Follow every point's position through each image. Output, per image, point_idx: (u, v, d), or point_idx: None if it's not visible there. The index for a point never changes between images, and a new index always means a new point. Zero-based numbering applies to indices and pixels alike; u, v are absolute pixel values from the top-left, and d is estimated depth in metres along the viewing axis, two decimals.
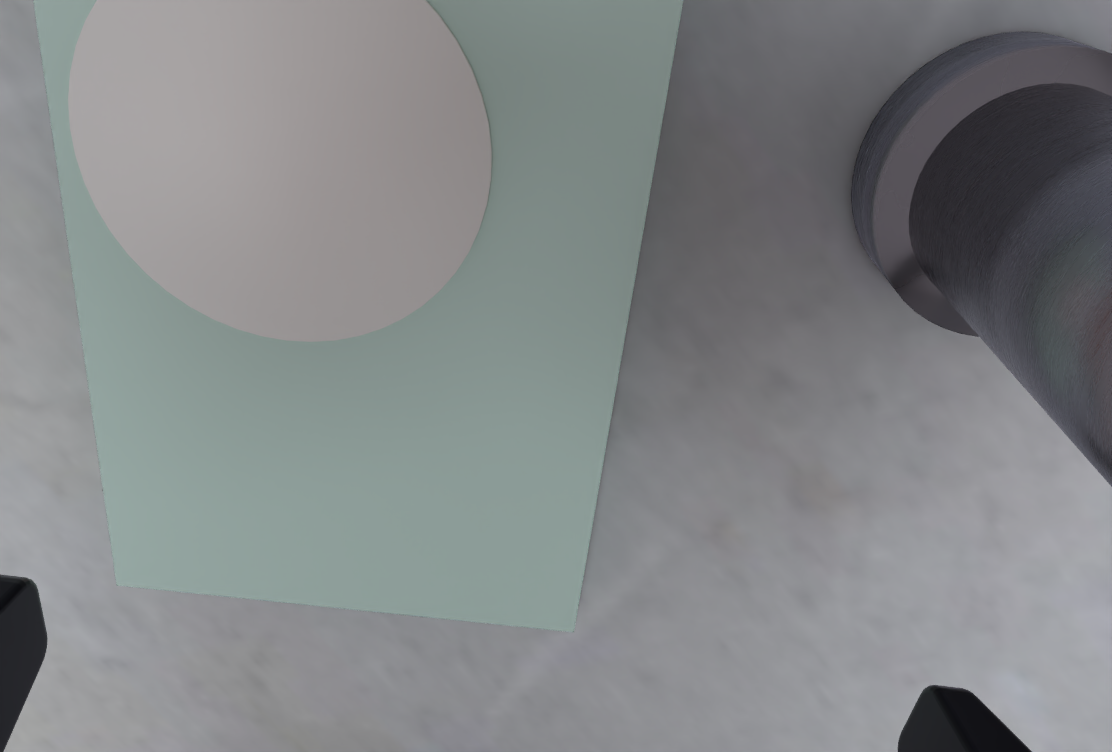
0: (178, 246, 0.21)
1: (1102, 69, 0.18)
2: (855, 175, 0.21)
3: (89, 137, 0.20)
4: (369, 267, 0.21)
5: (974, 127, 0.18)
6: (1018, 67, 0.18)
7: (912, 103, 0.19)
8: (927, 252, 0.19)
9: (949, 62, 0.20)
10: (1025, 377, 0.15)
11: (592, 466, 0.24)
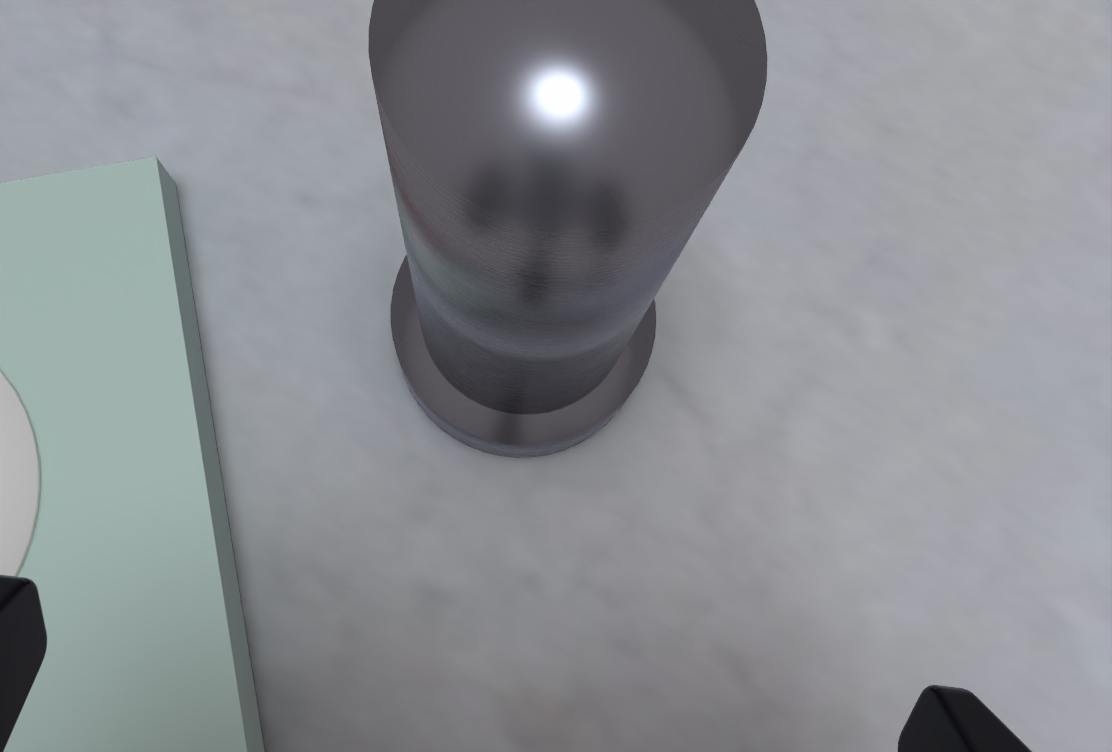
0: None
1: None
2: None
3: None
4: None
5: None
6: None
7: None
8: (436, 357, 0.20)
9: None
10: (446, 313, 0.16)
11: None
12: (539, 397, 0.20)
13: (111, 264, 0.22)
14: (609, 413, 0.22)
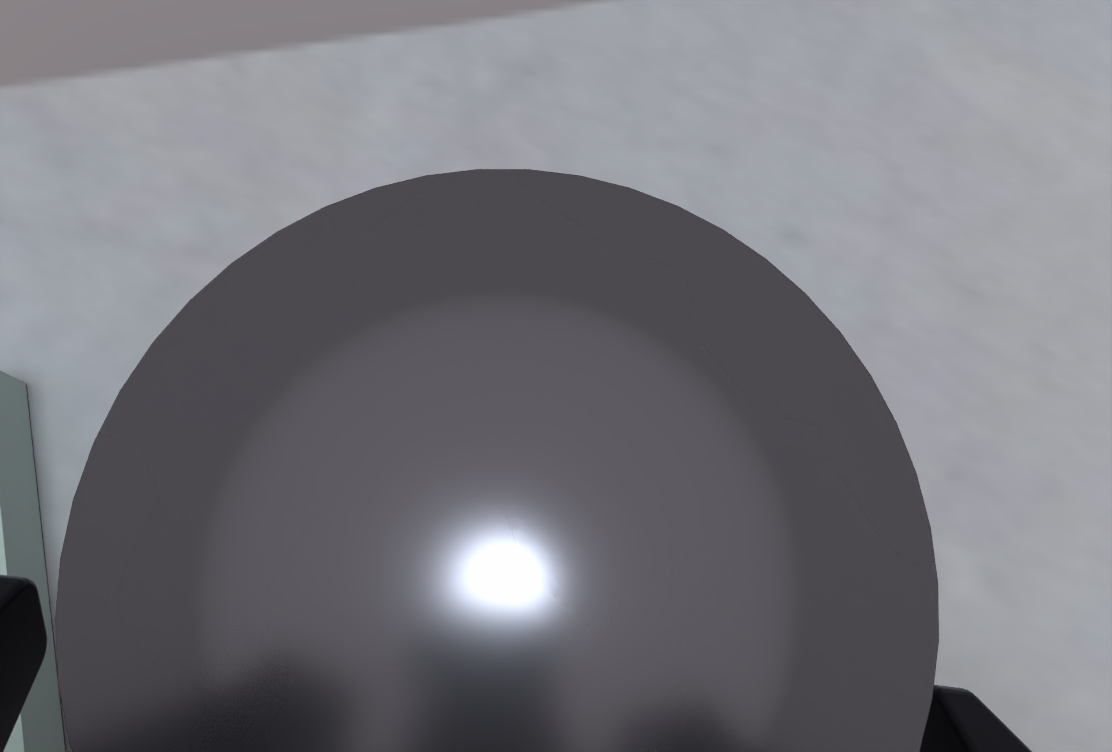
0: None
1: None
2: None
3: None
4: None
5: None
6: None
7: None
8: None
9: None
10: None
11: None
12: None
13: None
14: None
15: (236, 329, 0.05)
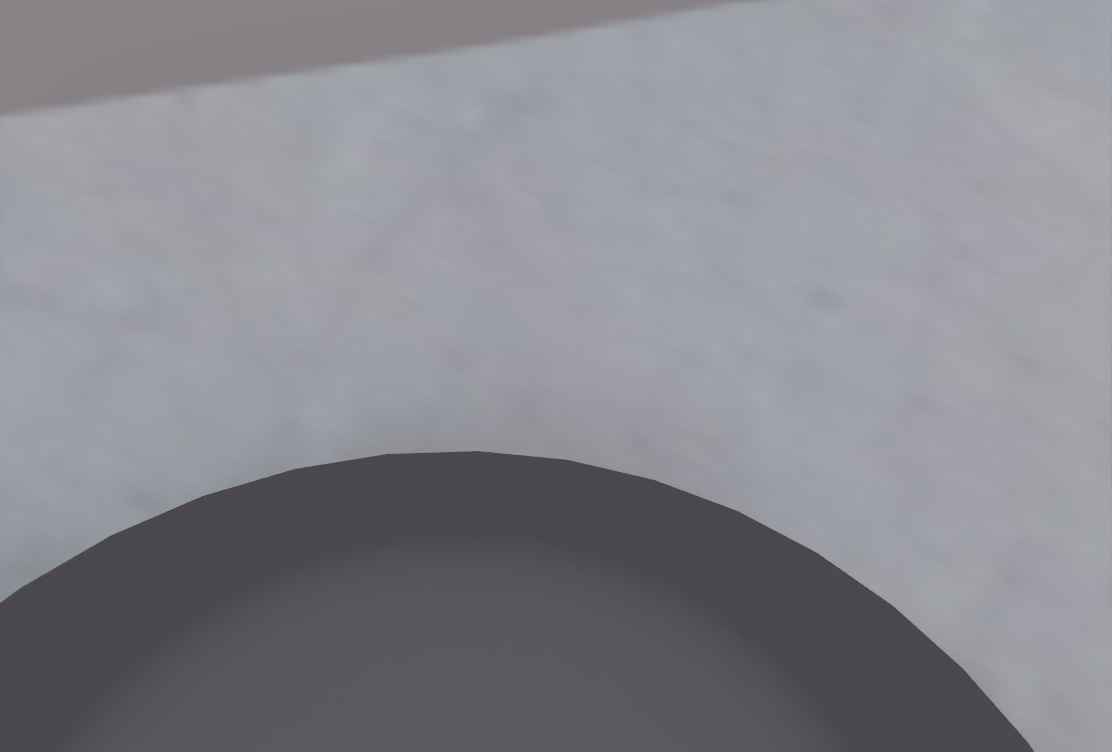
0: None
1: None
2: None
3: None
4: None
5: None
6: None
7: None
8: None
9: None
10: None
11: None
12: None
13: None
14: None
15: None
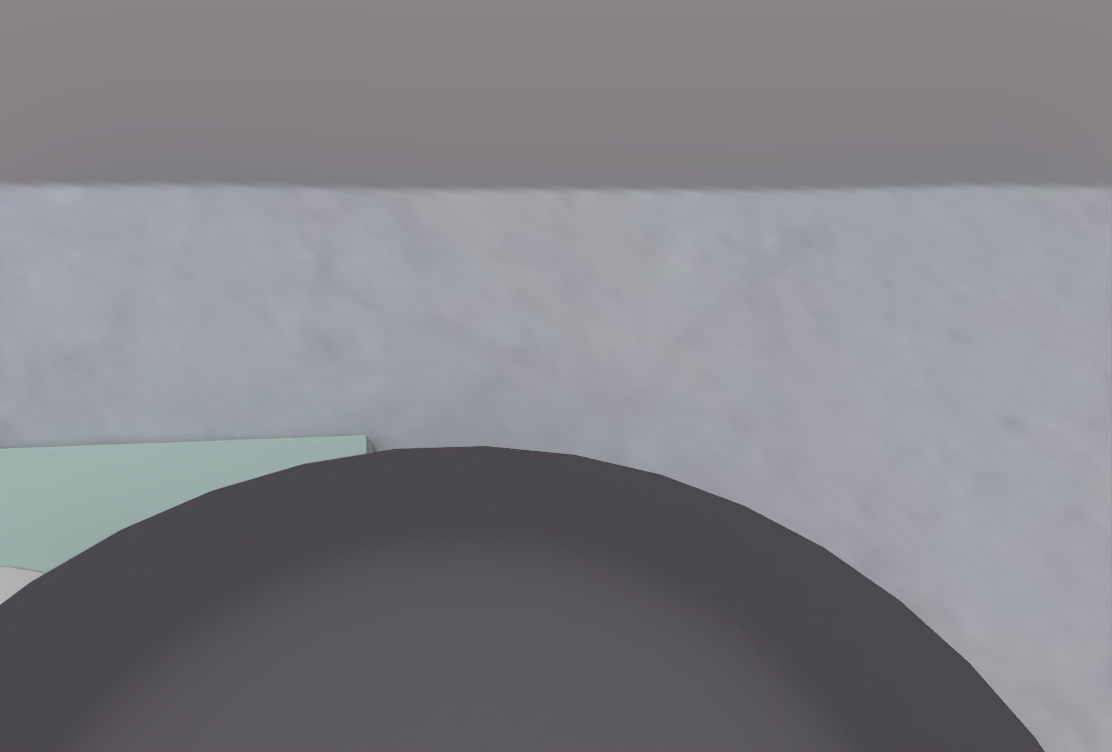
0: None
1: None
2: None
3: None
4: None
5: None
6: None
7: None
8: None
9: None
10: None
11: None
12: None
13: None
14: None
15: None
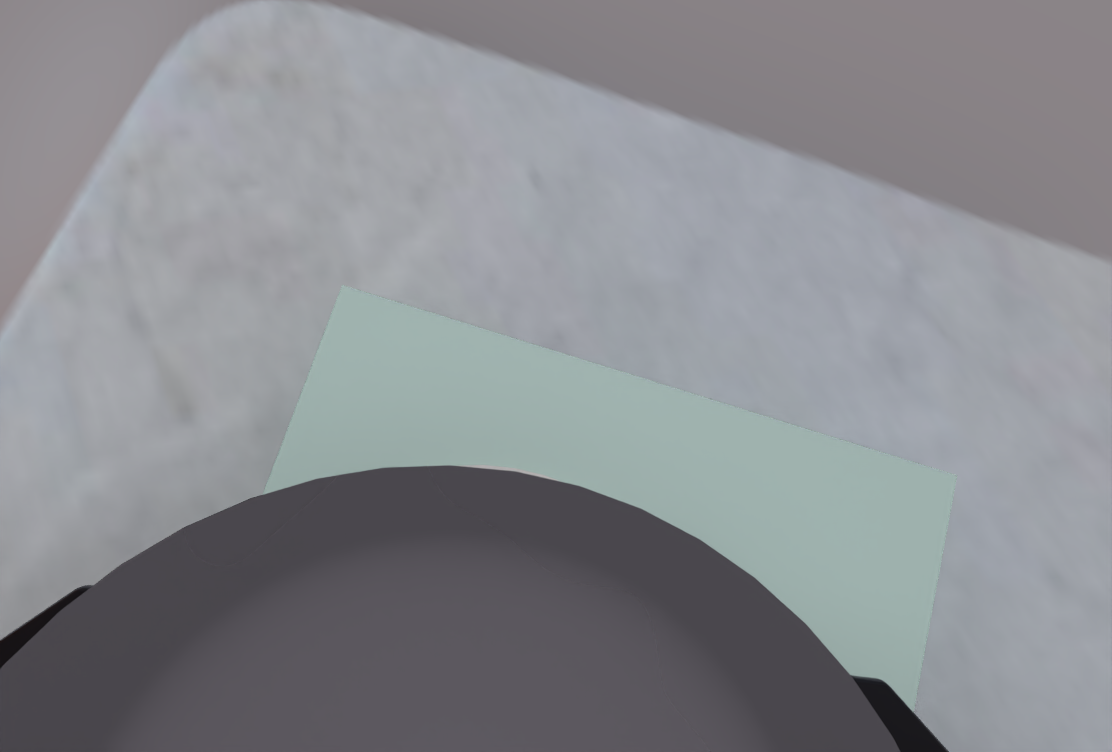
0: None
1: None
2: None
3: None
4: None
5: None
6: None
7: None
8: None
9: None
10: None
11: None
12: None
13: (865, 582, 0.18)
14: None
15: (62, 706, 0.04)
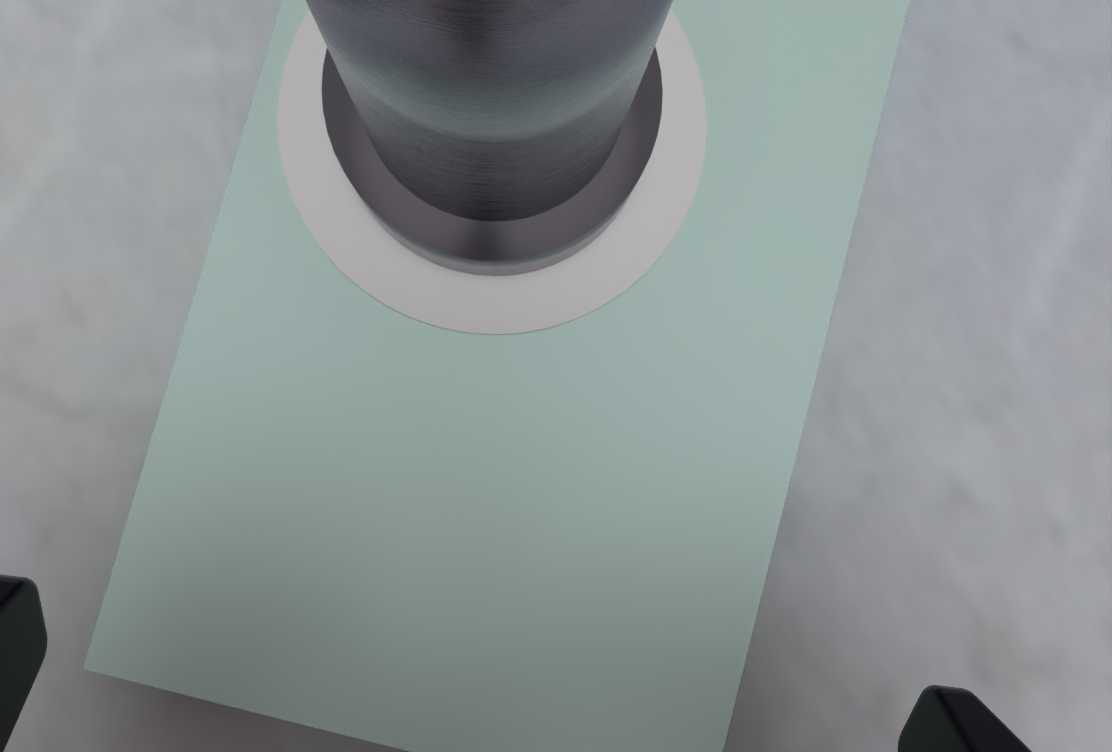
0: (352, 199, 0.19)
1: None
2: None
3: (302, 73, 0.19)
4: None
5: None
6: None
7: None
8: (379, 150, 0.16)
9: None
10: (360, 72, 0.11)
11: (760, 549, 0.19)
12: (512, 196, 0.15)
13: (840, 16, 0.20)
14: (605, 215, 0.17)
15: None
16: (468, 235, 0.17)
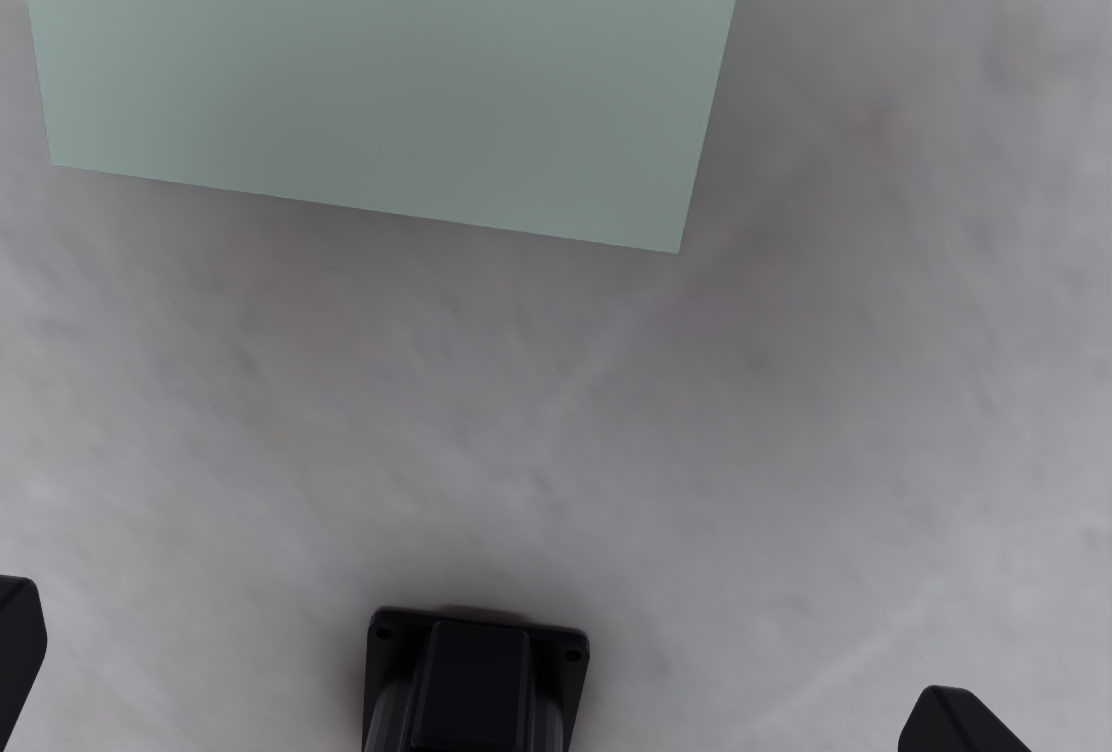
0: None
1: None
2: None
3: None
4: None
5: None
6: None
7: None
8: None
9: None
10: None
11: None
12: None
13: None
14: None
15: None
16: None
